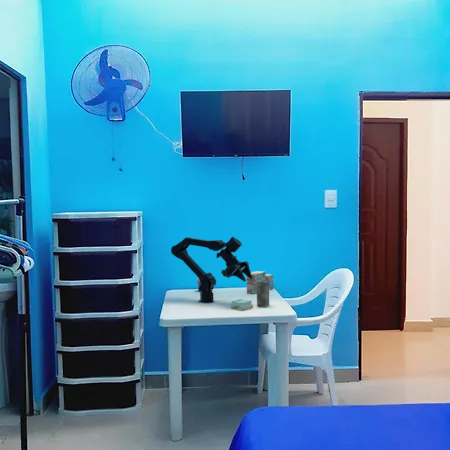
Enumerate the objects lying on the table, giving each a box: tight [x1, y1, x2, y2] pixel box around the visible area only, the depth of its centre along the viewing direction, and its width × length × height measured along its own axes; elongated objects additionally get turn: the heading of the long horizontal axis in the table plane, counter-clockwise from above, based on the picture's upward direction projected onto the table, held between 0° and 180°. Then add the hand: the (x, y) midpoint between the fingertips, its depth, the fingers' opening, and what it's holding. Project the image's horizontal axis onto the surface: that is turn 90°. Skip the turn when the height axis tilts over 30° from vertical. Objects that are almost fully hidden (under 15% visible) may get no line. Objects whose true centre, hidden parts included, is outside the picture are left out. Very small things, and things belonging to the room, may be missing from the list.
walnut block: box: [256, 280, 270, 308], centre depth 243 cm, size 5×5×13 cm
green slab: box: [231, 298, 252, 307], centre depth 238 cm, size 7×7×2 cm
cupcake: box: [196, 277, 201, 287], centre depth 288 cm, size 9×9×10 cm
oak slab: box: [230, 303, 254, 312], centre depth 238 cm, size 8×8×2 cm
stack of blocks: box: [246, 270, 275, 295], centre depth 284 cm, size 21×6×12 cm, turn 144°
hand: (248, 279), depth 246 cm, fingers open, 9 cm apart
